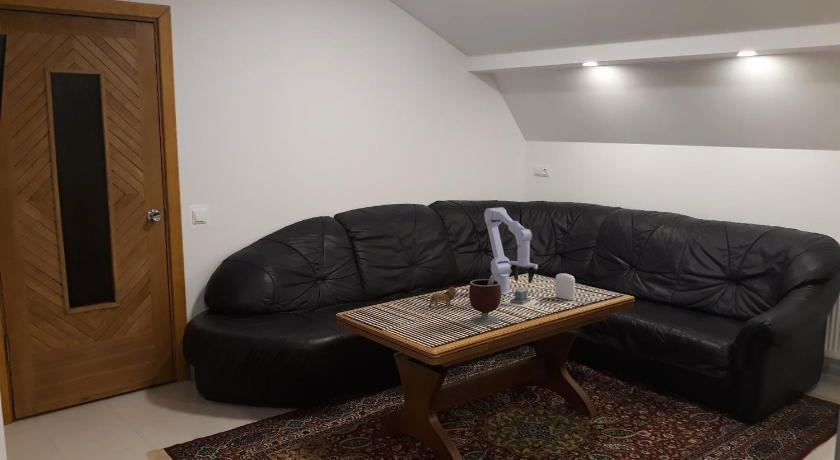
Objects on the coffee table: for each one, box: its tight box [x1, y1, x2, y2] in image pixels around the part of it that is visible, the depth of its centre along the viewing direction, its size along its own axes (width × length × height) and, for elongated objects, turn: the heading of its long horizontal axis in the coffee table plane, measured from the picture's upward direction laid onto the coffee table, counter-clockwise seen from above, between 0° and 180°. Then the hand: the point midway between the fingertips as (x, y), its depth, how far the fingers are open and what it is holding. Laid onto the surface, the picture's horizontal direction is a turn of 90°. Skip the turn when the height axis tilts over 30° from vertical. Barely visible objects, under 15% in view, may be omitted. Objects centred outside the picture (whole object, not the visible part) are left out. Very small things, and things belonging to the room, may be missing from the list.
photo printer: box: [555, 273, 576, 301], centre depth 318 cm, size 10×4×12 cm, turn 39°
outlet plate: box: [500, 297, 540, 309], centre depth 311 cm, size 13×14×2 cm
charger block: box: [514, 288, 528, 301], centre depth 311 cm, size 4×5×6 cm
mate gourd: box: [468, 273, 502, 326], centre depth 281 cm, size 16×14×20 cm
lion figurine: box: [428, 286, 457, 309], centre depth 306 cm, size 15×5×9 cm, turn 114°
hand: (523, 281), depth 316 cm, fingers open, 7 cm apart
